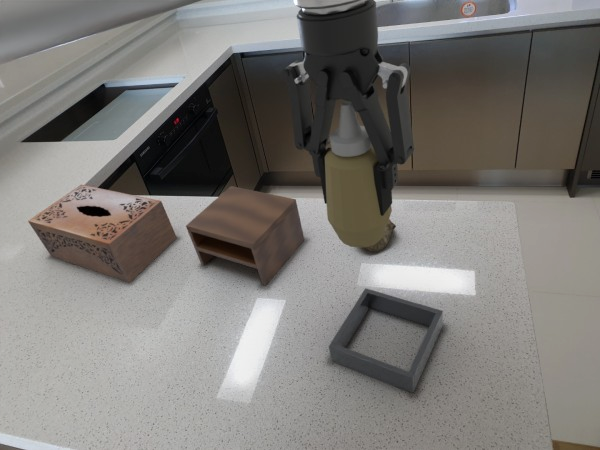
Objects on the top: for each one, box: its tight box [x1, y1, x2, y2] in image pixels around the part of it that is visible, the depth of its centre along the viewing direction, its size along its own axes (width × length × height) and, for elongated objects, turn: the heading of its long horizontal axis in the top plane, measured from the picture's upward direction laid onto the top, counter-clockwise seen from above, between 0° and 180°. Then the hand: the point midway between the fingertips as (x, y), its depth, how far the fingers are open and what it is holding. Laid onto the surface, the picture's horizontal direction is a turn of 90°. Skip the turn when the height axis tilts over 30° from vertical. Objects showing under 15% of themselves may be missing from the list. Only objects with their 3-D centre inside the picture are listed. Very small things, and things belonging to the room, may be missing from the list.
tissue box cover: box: [27, 184, 178, 283], centre depth 99 cm, size 26×14×10 cm, turn 61°
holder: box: [328, 287, 444, 394], centre depth 68 cm, size 13×13×4 cm
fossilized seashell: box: [363, 218, 397, 252], centre depth 88 cm, size 8×7×10 cm
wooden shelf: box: [185, 185, 305, 287], centre depth 89 cm, size 14×16×10 cm
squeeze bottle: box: [325, 100, 393, 249], centre depth 54 cm, size 8×8×18 cm
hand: (357, 203), depth 57 cm, fingers closed on squeeze bottle, 6 cm apart
